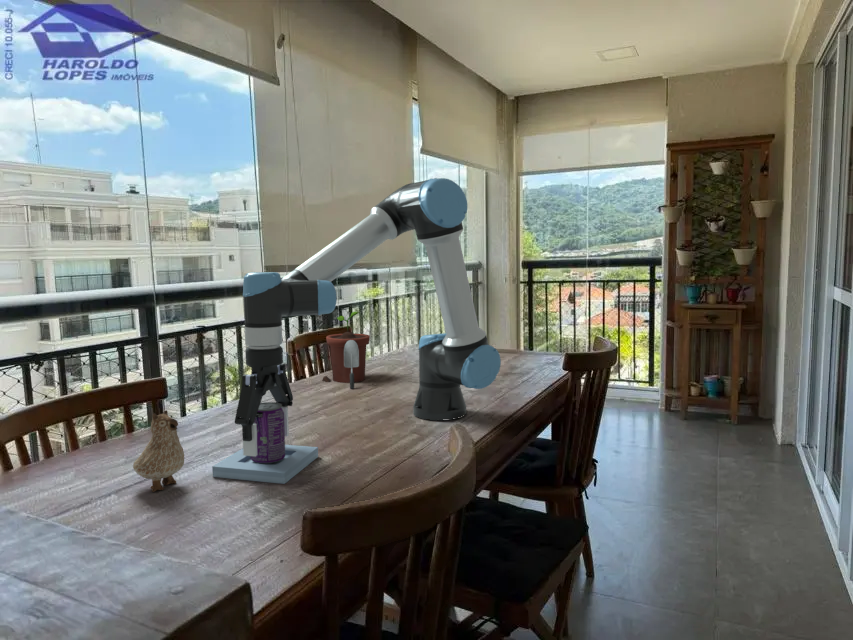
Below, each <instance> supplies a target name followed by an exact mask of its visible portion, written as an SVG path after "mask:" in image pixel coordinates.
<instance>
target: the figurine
mask: <svg viewBox="0 0 853 640" xmlns="http://www.w3.org/2000/svg"><path fill="white" fill-rule="evenodd" d="M151 419H152V421H151V423H150V432H151V434H152V436H151V437H150V440H149V441H148V443H147V444H146V446H145V447H144V449H143V450H142V452H141V454H140V455H139V456H138V458H136V460H135V461H134V462H133V465H132V468H133V470H134V472H135V473H136V474H137V475H139V476H140V477H142V478H143V479H149V480H151V483H152V485H151V486H150V489H151V492H152V493H154V492H157V491H163V490H165V486H168V485H171V484H176V483H177V480H176V479H175V478H174V477H173V475H175V474H176V473H178V472H179V471H180V470H181V469H182V468H183V466H184V464H185V452H184V448H183V446H182V444H181V441H180V437H179V435H178V431H177V430H178V426H179V422H178V420H177V419H176V418H173V417H171V416H169V415H168V410H164V411H163V412H162V413H160V414H158V415H157V413H153V414H152V418H151ZM162 484H163V485H162ZM163 486H164V487H163Z"/></svg>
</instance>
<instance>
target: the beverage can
mask: <svg viewBox="0 0 853 640" xmlns="http://www.w3.org/2000/svg"><path fill="white" fill-rule="evenodd" d="M281 407H282V404H280V403H276V401H275V402H274V401H267V402H266V401H264V402H261V403H260V406H259V409H258V412H257V415H256V418H255V421H254V424H256V427H257V456H256V457H255V456H251V460H252V461H254V462H256V463H258V464H274V463H277V462H279V461H280V460H282V459H283V458H284V457H285V445H286V436H285V423H284V411H283V409H282V408H281Z"/></svg>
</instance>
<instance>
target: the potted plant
mask: <svg viewBox="0 0 853 640" xmlns="http://www.w3.org/2000/svg"><path fill="white" fill-rule="evenodd" d="M359 313H360V312H359V311H352V312H351V314H350V316H349V317H348V318H347V319H345V317H344V315H339V316H338V317H337V318H336V319H337V320H338V321H340V322H344V321H345V322H346V327H347V329H346V331H345V332H343V333H335V334H329V335H327V336H326V337H325V338H326V345H327V346H329V347H330V348H329V351H330V360H331V374H332V380H331V379H330V377H328V376H327V375H325V376H323V378H322V379H321V381H322V382H325V383H330V382H332V381H333V382H336V383H342V384H343V383H345V384H349V389H350V390H351V389H355V383H359V382H362V381H364V380H365V379H366V361H367V358H366V357H367V345H369V344H370V341H371V340H370V339H371V338H370V337H371V336H370V335H369V334H366V333H353V332H351V331H350V330H349V320H350V319H352V318H353V317H355V316H356V315H358V314H359Z"/></svg>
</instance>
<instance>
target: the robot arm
mask: <svg viewBox="0 0 853 640" xmlns="http://www.w3.org/2000/svg"><path fill="white" fill-rule="evenodd" d="M467 213H468V200H467V196H466V194H465V191H463V189H462V187H461V186H460V185H459V184H458V183H456V182H455V181H453V180H452V179H449V178H444V177H441V178H437V177H434V178H430V179H426V180H423V181H422V180H421V181H417V182H411V183H408V184H403V186H400V187H399V188H398V189H396V190H394V191H393V192H392V193H390V194H389V195H388V196H387V197H385V198H384V199H382V201H380V202H379V203H378V204H376V205H375V206H373V207H372V208H371V209H370V214H369V215H368V216H366V217H365V218H364V219H362V220H361V221H360V222H358V223H357V224H355V225H353V226H352V227H351V228H349V230H347V231H346V232H344V233H343V234H342V235H340V236H339V237H338V238H336V239H335V240H333V241H332V242H331V243H329V244H328V245H326V246H325V247H323V248H322V249H321V250H320V251H318V252H316V253H315V254H313V255H312V256H311V257H309V258H308V259H307V260H306V261H304V262H303V263H301V264H300V265H299V266H297V267H296V268H294V269H293V270H292V271H290V272H289V273H287V274H286V275H284V277H283V276H282V277H281V274H280V273H279V272H277V271H276V272H275V271H274V272H273V271H271V272H269V271H267V272H265V271H263V272H262V271H261V272H260V271H257V272H255V271H254V272H253V271H251V272H247V273H245V275H244V276H243V282H242V284H243V285H242V286H243V287H242V289H243V290H242V297H243V298H242V299H243V315H244V331H243V332H244V333H243V334H244V340H245V341H244V343H245V346H246V349H245V352H244V353H245V365H246V366H248V367H250V368H251V374H246V373H245V374H243V375H242V377H241V379H242V380H241V389H240V393H239V397H238V398H239V399H238V404H237V408H236V413H235V417H234V424H235V425H240V426H241V429H242V448H243V455H244V456H255V457H256V456H257V427H256V424H254V421H255V418H256V415H257V412H258V409H259V406H260V403H262V402H261V401H262V399H263V396H266V394H267V392H268V391H269V392H270V394H271V396H272V397H273V399H274V401H275V402H276V403H280V404H282V407H281V408H282V409H283V411H284V423H285V437H288V436H289V435H290V433H289V408H288V407H292V406H293V403H294V402H293V400H294V396H293V393H292V389H291V385H290V383H289V380H288V375H287V372H286V370H287V369H286V364H285V363H284V355H283V354H284V353H283V350H284V349H283V347H282V346H281V345H282V344H283V343H284V342H283V321H282V320H283V317H285V318H287V317H296V316H297V317H298V316H316V315H317V316H321V315H326V314H327V315H328V314H331V313H332V312H334V311H335V309H336V306H337V298H338V297H337V291H336V288H335V286H334V284H333V283H332V281H334V280H335V279H336V278H338V277H339V276H340V275H342V274H344V273H345V271H347V270H349V269H350V268H351V267H352V266H353V265H355V264H356V263H358V262H359V261H361V260H362V259H363V258H365V257H367V256H368V255H369V254H370V253H371V252H373V251H374V250H375V249H377V248H378V247H380V245H382V244H384V242H386V241H387V240H390V241H391V240H392V241H393V240H395V239H396V238H397V237H399V236H400V235H402V234H404V233H407V232H409V231H410V232H411V231H414V230H415V234H416V238H417V239H416V240H417V241H418V242H420V243H421V244H422V245H424V246H425V250H426V254H427V258H428V263H429V268H430V270H431V275H432V279H433V284H434V287H435V292H436V297H437V302H438V305H439V309H440V313H441V318H442V322H443V326H444V331H445V332H443V333H433V334H425V335H422V336H421V337H420V339H419V342H418V354H419V355H418V359H419V360H418V361H419V362H418V365H419V366H418V367H419V368H418V370H419V372H418V375H419V376H418V377H419V382H418V383H419V385H418V390H417V393H416V396H415V399H414V403H413V407H412V410H413V412H412V414H413V416H415V417H416V418H418V417H419V419H422V420H426V419H430V420H429V421H437V420H443V419H453V418H458V417H461V416H463V415H465V414H466V415H467V404H466V401H465V398H464V397H465V396H464V395H463V391H462V389H461V386H464V387H465V388H468V389H475V390H482V389H485V388H487V387H489V386H490V385H492V383H494V381H495V380H496V379H497V375H498V374H499V373H500V369H501V364H502V363H501V361H502V359H501V355H500V353H499V351H498V350H497V348H495V347H494V346H492V345H491V344H489V340H488V336H487V333H486V331H485V330H484V329H482V328H480V327H479V322H478V317H477V313H476V309H475V305H474V300H473V294H472V291H471V287H470V282H469V278H468V273H467V268H466V263H465V259H464V254H463V250H462V246H461V241H460V236H461V234H462V232H463V231H464V226H463V225H464V224H463V222H464V220H465V217H466V214H467ZM466 415H465V416H466Z"/></svg>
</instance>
